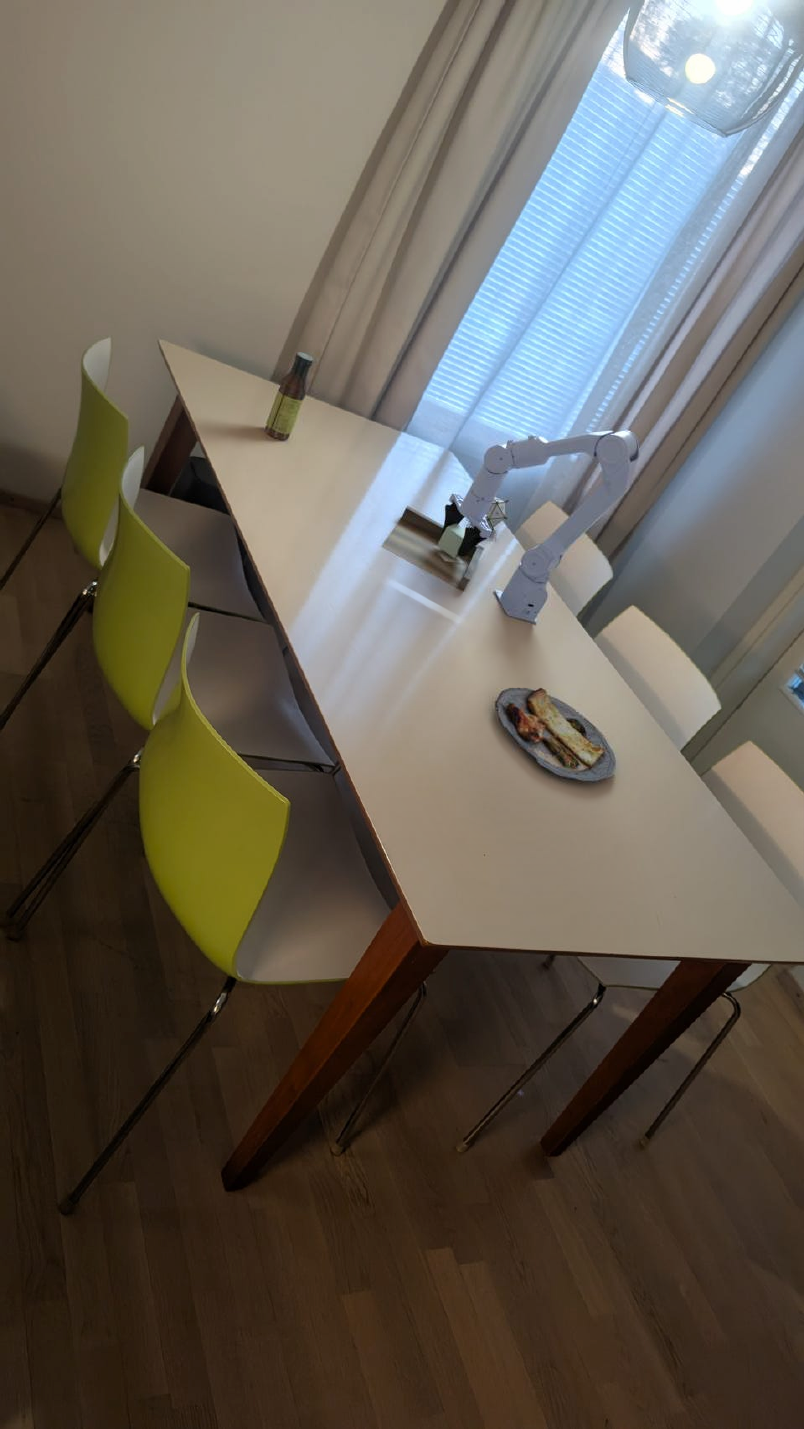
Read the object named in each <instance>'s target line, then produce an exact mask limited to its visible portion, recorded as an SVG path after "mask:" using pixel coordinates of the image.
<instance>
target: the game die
mask: <svg viewBox="0 0 804 1429" xmlns="http://www.w3.org/2000/svg"><path fill="white" fill-rule="evenodd" d="M509 501H510V500H508V499H507V500H503V499H501V498H499V497H497V496H495V498H494V500H493V502H492V503H491V505H490V507H489V509H488V510H487V512H486V515H487V517H486V518H485V519H486V521H487V524H488V526H489V528H491V530H492V529H493V531H494V530H495V527H496V526H497V525H498V524H500V523H501V522H502V521H503V520H508V519H509V518H508V517H506V512H507V511H506V510H507V503H508V502H509Z"/></svg>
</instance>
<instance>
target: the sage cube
mask: <svg viewBox="0 0 804 1429" xmlns="http://www.w3.org/2000/svg"><path fill="white" fill-rule="evenodd" d="M464 534H465V527H463V526H462V525H460V523H459V524H457V523H456V524H453V525H451V526H448V527H447V528H446V530H445V532H444V533H443V535H442V537H441V539H440V541H439V543H438V545H437V546H438V547H440V548H441V549H442V550H444V551H445V552H447V553H448V554H449V555H451V556H452V557H453V558H456V557H459V556H458V555H457V553H458V549H459V547H460V545H461V543H462V541H463V538H464Z"/></svg>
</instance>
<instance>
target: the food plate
mask: <svg viewBox="0 0 804 1429" xmlns="http://www.w3.org/2000/svg"><path fill="white" fill-rule="evenodd" d="M494 703H495V704H494V706H495V709H494V711H496V714H497V715H498V716H499V717H498V722H499V723H501V724H502V725H503V728H504V729H505V730H507V731H508V732H509V733H510V735H511V736H512V737H513V738H514V740H516V742H517V743H518V746H519V747H520V748H521V749H523V750H525V751H526V752H527V753H528V754H529V755H530V756H533V757H534V759H536V762H537V763H538V764H539V765H540V766H542V767H543V768H546V769H547V770H549V771H550V772H552V773H553V774H555V775H557V776H560V777H565V778H567V779H576V780H579V781H583V782H587V781H588V782H597V781H602V780H606V779H608V778H610V777H612V776H614V774H615V772H616V768H617V759H616V755H615V752H614V750H613V749H612V748H611V746H610V744H609V743H608V741H607V738H606V737H605V735H604V734H603V733H602V732H601V731H600V730H599V729H598V728H597V727H596V726H595V725H594V724H593V723H592V722H591V721H590V720H588V719H587V718H586V717H584V715H583V714H581V713H580V712H579V711H577V710H576V708H574V707H572V706H571V705H569V704H567V702H564V701H562V700H560V698H556V697H554V696H552V695H549V694H548V692H547V690H546V689H545V688H543V687H539V688H538V689H536V690H533V689H531V688H528V687H508V688H507V689H504V690H502V691H501V692H500V693H499V694H498V697H497V699H496V700H495V702H494ZM535 749H536V751H538V752H541V753H543V754H544V757H545V758H546V759H543V757H542V756H540V755H539V753H538V752H537V753H536V751H534V750H535ZM548 756H551V757H552V758H556V759H557V760H558V761H559V763H561V765H562V766H563V767H561V766H560V767H559V766H557V765H555V764H553V763H551V762H550V761H548V760H547V759H548ZM556 759H555V760H556ZM580 763H582V764H583V765H585V766H586V768H583V769H580V770H576V771H575V769H576V768H578V766H579V767H580V766H582V765H581V764H580ZM565 768H569V769H571V770H569V769H565ZM572 769H574V770H572Z"/></svg>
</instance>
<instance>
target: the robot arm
mask: <svg viewBox="0 0 804 1429" xmlns="http://www.w3.org/2000/svg"><path fill="white" fill-rule="evenodd" d="M579 453H580V454H581V453H584V454H586V455H588V456H589V457H591V458H592V459H593V458H596V457H597V460H598V462H599V465H600V468H601V469H602V479H603V482H602V483H601V485H600V486H599V487H598V488H597V489H596V490H594V492H593V493H592V494H591V495H590V496H589V497H588V498H587V499H585V500H584V502H582V503H581V505H580V506H578V508H577V509H575V511H574V512H572V514H571V515H569V516H568V518H566V520H564V521H563V522H562V524H560V525H559V526H558V527H557V528H556V529H555V531H553V532H552V533H551V534H550V535H549V536H548V537H547V538H545V539H544V540H543V541H542V542H540V543H539V544H537V545H536V546H535V547H533V548H529V549H528V550H527V551H525V552H524V553H523V555H522V556H521V559H520V563H519V565H517V568H516V569H515V571H514V573H513V574H512V576H511V578H510V579H509V580H508V583H507V584H506V585H505V588H504V589H503V591H502V590H498V589H494V594H495V596H496V597H497V599H498V601H499V603H500V604H501V606H502V608H503V610H504V612H505V614H506V615H507V616H509V617H513V618H516V619H520V620H524V621H528V622H531V623H535V624H536V623H538V620H537V617H538V615H539V613H540V612H541V610H542V609H543V607H544V606H545V605H546V604H545V603H547V600H548V597H549V594H548V591H547V584H548V582H549V580H550V571H552V570H554V569H556V568H557V567H558V566H559V565H560V564H561V561H562V558H563V556H565V553H566V552H568V550H569V549H570V548H571V546H572V545H573V544H574V543H576V542H577V541H578V540H579V539H580V537H582V535H584V534H585V533H586V532H587V531H588V530H589V529H590V528H592V526H593V525H594V524H595V523H596V522H597V521H599V519H600V518H601V517H603V515H605V513H606V512H608V511H609V510H610V509H611V508H612V507H613V506H614V505H615V504H616V503H617V502H618V501H619V500H620V499H622V497H623V496H624V495H625V494H627V492H628V491H629V489H630V488H631V485H632V482H633V479H634V478H633V477H634V475H635V474H634V473H635V470H636V467H637V463H638V461H639V459H640V457H641V453H640V445H639V440H638V437H637V436H636V434H635V433H634V432H632V431H630V430H627V429H620V430H617V431H615V432H614V430H606V431H595V432H594V431H593V432H588V433H584V434H579V435H573V436H570V437H564V438H560V439H555V440H550V441H548V440H547V439H546V438H544V437H542V436H537V435H536V434H532V435H529V436H527V439H520V440H515V441H514V439H510V440H509V439H508V440H507V441H506V442H502V443H499V444H495V445H493V446H491V447H489V448H487V450H486V451H485V452H484V455H483V464H482V465H481V468H480V469H479V470H478V472H477V473H476V476H475V477H474V480H473V482H472V483H471V485H470V487H469V489H468V490H467V493H466V494H465V496H464V497H463V496H462V495H460V493H456V492H455V493H454V492H452V493H451V495H450V496H449V499H448V502H450V504H445V506H444V523H443V526H444V527H443V531H442V535H443V533H444V532H445V530H446V528H447V527H448V526H451V525H453V524H456V523H457V524H459V525H460V523H461V522H462V521H463V519H464V518H466V519H467V520H468V521H469V523H471V525H472V526H473V527H470V526H466V527H464V529H465V534H464V538H463V541H462V543H461V545H460V547H459V549H458V553H457V555H458V556H463V557H465V556H466V555H467V554H468V553H469V552H470V551H471V550H472V549H473V548H474V547H475V546H476V545H479V544H480V543H482V542H483V541H486V540H488V539H489V537H490V535H491V534H492V532H493V531H492V528H491V527H490V526H488V524H487V521H486V519H485V518H486V517H487V515H486V512H487V510H488V509H489V507H490V505H491V503H492V502H493V500H494V498H495V497H497V495H498V492H499V490H500V488H501V487H502V485H503V483H504V482H505V481H504V480H505V479H506V477H507V475H508V473H509V471H511V470H513V469H515V470H521V469H525V468H531V467H532V468H533V467H536V466H543V465H546V464H547V462H548V461H549V459H550V458H552V457H557V456H558V457H559V456H564V455H565V456H566V455H572V454H573V455H574V454H579ZM442 535H441V536H442Z"/></svg>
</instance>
